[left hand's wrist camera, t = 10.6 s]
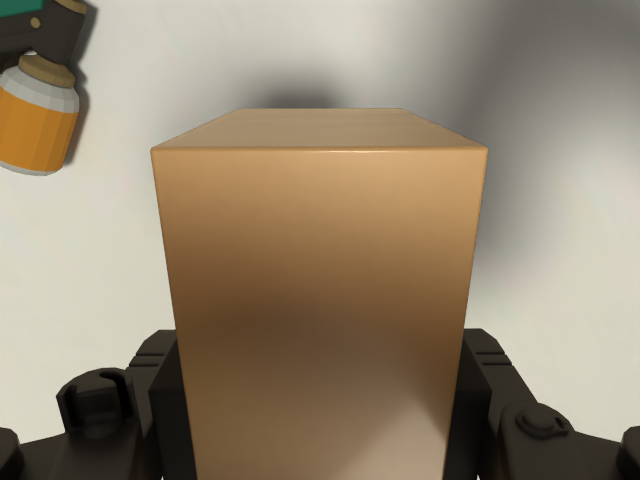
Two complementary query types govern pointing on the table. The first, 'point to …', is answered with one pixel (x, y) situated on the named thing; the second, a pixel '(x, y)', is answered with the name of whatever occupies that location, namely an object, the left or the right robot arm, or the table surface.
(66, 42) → the spray gun
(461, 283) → the bar
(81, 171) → the table surface
